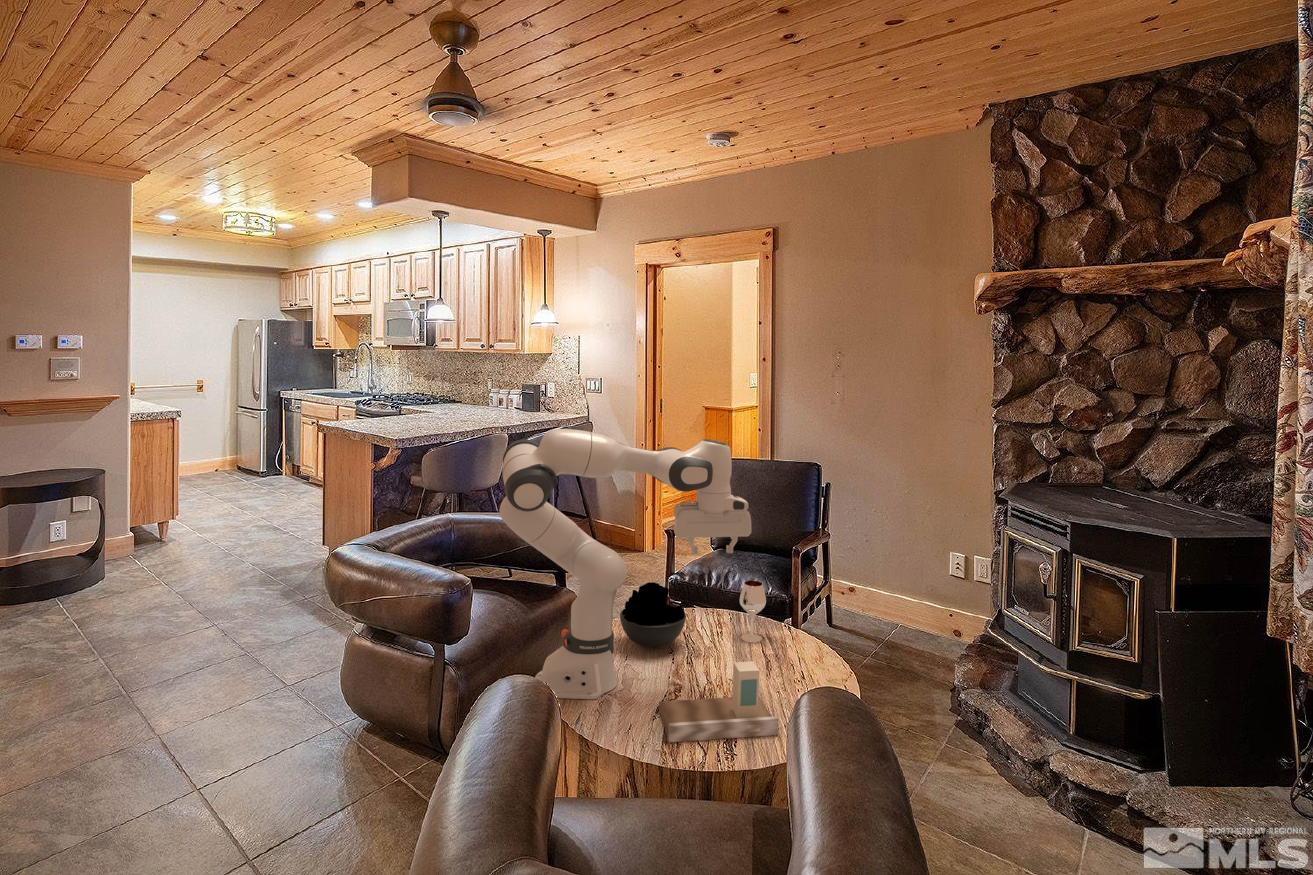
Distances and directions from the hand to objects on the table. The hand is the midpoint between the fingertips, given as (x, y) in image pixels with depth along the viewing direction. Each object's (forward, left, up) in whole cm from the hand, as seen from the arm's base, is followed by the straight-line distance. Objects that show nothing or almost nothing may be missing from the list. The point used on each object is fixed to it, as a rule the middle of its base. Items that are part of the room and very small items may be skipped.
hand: (712, 553), depth 183 cm
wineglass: (+21, +30, -37) cm, 52 cm away
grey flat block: (-2, -17, -37) cm, 41 cm away
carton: (+5, -18, -35) cm, 40 cm away
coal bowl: (-11, +28, -37) cm, 48 cm away
